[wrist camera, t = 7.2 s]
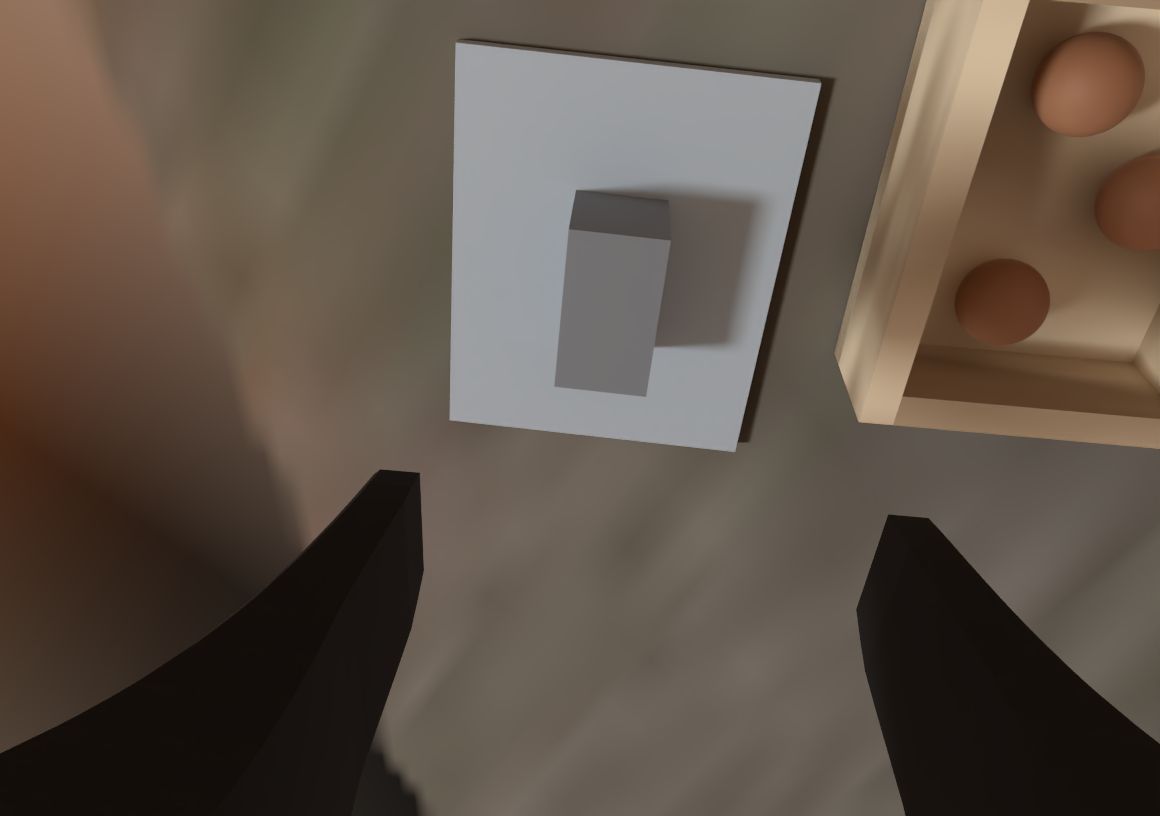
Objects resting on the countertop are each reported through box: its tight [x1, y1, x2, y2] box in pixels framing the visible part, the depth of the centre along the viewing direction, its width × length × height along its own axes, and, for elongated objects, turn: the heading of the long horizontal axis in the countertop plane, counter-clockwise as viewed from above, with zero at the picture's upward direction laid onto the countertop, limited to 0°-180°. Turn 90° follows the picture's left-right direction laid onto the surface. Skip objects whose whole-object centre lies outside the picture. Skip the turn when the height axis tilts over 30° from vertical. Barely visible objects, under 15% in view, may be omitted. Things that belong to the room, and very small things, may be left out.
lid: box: [450, 39, 821, 452], centre depth 22 cm, size 10×8×3 cm
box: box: [834, 0, 1160, 449], centre depth 20 cm, size 10×8×3 cm
